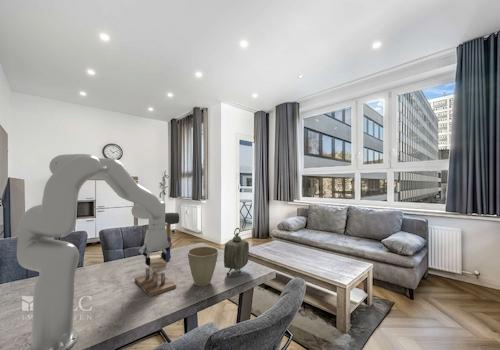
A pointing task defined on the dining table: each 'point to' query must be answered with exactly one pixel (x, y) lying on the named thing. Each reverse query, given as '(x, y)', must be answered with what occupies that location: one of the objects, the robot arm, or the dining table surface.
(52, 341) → the robot arm
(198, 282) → the plant pot
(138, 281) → the wooden peg stand
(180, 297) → the dining table surface
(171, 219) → the rubber mallet
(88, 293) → the dining table surface
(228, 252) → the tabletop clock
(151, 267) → the oak board
